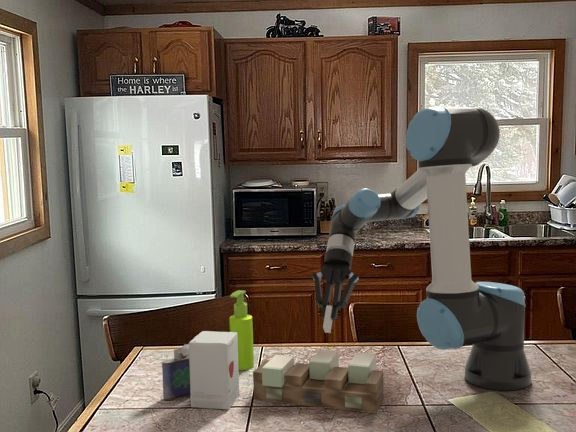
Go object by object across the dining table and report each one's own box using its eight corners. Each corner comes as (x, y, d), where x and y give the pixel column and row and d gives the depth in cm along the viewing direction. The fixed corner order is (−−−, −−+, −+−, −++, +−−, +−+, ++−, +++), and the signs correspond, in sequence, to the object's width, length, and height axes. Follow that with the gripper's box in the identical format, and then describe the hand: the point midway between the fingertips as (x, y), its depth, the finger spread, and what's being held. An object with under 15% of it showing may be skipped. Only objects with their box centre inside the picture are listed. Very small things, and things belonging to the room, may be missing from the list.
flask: (165, 401, 145) (163, 355, 144) (161, 397, 147) (159, 352, 146) (203, 393, 150) (201, 348, 148) (198, 389, 152) (196, 345, 151)
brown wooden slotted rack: (383, 399, 143) (383, 371, 143) (376, 414, 136) (376, 384, 135) (266, 386, 152) (265, 360, 152) (253, 400, 145) (252, 372, 144)
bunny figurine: (209, 339, 177) (208, 350, 162) (210, 358, 177) (209, 370, 162) (174, 341, 176) (171, 352, 161) (175, 360, 176) (171, 373, 161)
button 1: (294, 373, 149) (293, 356, 149) (281, 387, 141) (281, 369, 140) (276, 371, 151) (275, 354, 150) (262, 385, 142) (261, 367, 142)
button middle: (338, 367, 152) (338, 350, 152) (328, 380, 144) (328, 363, 143) (320, 365, 154) (320, 349, 153) (309, 378, 145) (309, 361, 145)
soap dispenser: (225, 370, 164) (222, 293, 162) (237, 361, 171) (234, 287, 168) (246, 372, 162) (243, 295, 160) (257, 363, 168) (255, 289, 166)
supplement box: (229, 410, 139) (226, 343, 138) (190, 408, 141) (187, 342, 139) (240, 394, 148) (238, 331, 146) (203, 392, 150) (201, 330, 148)
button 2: (376, 370, 149) (376, 353, 149) (368, 384, 141) (368, 367, 140) (357, 368, 151) (357, 352, 150) (348, 382, 142) (348, 365, 142)
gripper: (364, 262, 179) (354, 338, 164) (319, 262, 182) (305, 336, 168) (360, 246, 173) (349, 323, 159) (313, 246, 177) (298, 321, 163)
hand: (326, 330), depth 164 cm, fingers closed
